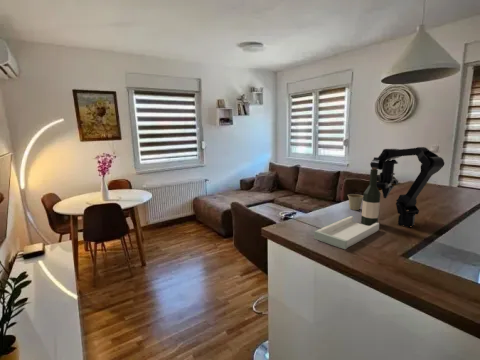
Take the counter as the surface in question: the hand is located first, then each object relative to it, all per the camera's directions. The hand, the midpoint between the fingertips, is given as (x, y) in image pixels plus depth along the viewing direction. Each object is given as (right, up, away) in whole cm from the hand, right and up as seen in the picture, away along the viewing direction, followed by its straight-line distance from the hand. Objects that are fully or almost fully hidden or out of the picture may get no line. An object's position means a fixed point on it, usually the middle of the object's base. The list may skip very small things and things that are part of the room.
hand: (385, 198), depth 153 cm
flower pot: (-10, -8, +17) cm, 21 cm away
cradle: (-31, -16, -24) cm, 43 cm away
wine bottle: (-14, -13, -9) cm, 21 cm away
